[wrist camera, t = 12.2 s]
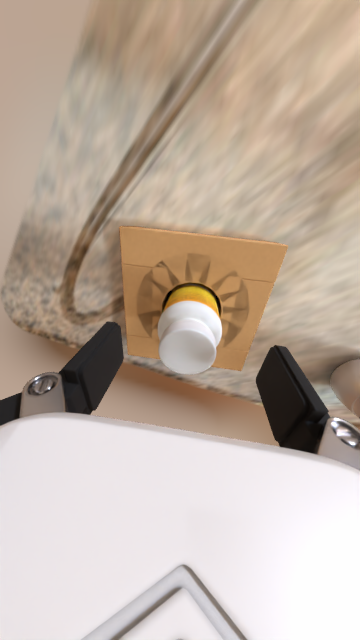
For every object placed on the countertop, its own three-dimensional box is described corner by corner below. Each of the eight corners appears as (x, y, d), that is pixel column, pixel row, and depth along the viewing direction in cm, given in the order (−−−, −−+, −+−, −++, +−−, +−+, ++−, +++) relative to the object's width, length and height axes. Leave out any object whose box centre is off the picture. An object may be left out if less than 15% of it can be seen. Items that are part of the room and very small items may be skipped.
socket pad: (131, 226, 17) (118, 226, 14) (274, 242, 16) (289, 245, 14) (135, 340, 24) (127, 354, 21) (236, 354, 23) (241, 371, 21)
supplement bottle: (217, 318, 21) (230, 380, 12) (175, 323, 22) (159, 384, 13) (212, 274, 18) (223, 315, 10) (164, 282, 19) (138, 326, 11)
